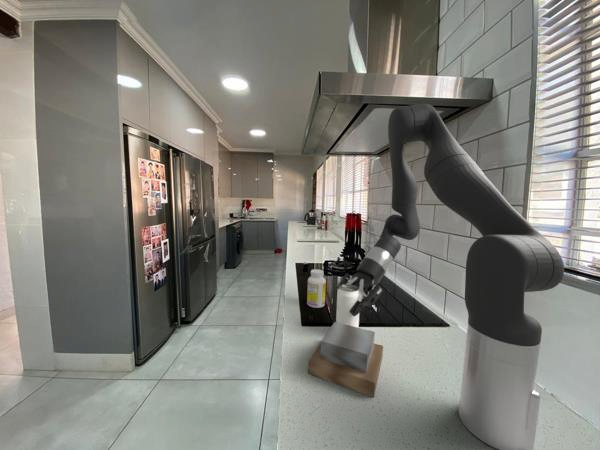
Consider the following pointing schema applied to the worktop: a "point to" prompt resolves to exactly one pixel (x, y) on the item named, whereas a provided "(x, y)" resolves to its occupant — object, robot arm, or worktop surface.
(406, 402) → the worktop surface
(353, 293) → the can
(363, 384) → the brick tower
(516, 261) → the robot arm
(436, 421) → the worktop surface
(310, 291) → the supplement bottle
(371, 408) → the worktop surface
